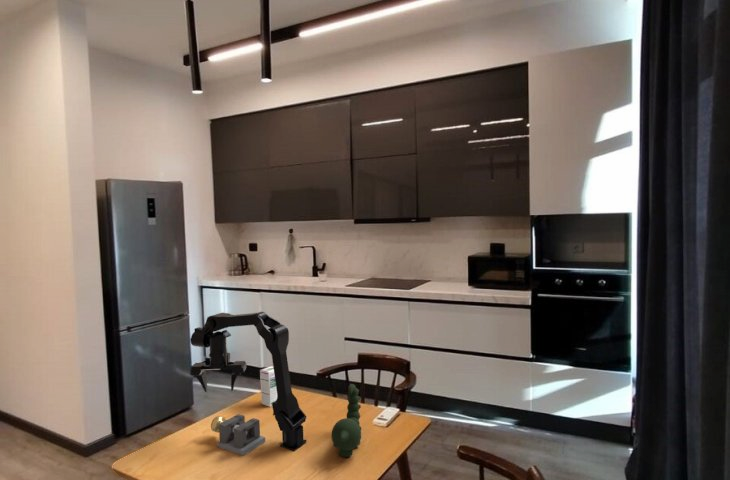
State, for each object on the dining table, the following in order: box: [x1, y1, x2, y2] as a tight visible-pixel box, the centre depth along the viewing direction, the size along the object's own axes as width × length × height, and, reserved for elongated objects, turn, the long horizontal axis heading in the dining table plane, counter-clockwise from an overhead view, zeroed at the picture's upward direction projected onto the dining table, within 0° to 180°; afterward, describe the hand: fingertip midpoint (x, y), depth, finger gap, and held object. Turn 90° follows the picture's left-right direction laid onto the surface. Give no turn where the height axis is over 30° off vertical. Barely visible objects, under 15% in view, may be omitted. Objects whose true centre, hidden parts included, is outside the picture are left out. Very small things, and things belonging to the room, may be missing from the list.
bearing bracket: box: [217, 413, 266, 457], centre depth 144 cm, size 12×10×8 cm
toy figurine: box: [331, 383, 362, 458], centre depth 141 cm, size 9×19×25 cm
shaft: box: [210, 415, 251, 438], centre depth 146 cm, size 15×5×5 cm, turn 60°
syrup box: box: [259, 365, 277, 408], centre depth 177 cm, size 6×6×14 cm
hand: (219, 391), depth 154 cm, fingers open, 9 cm apart
